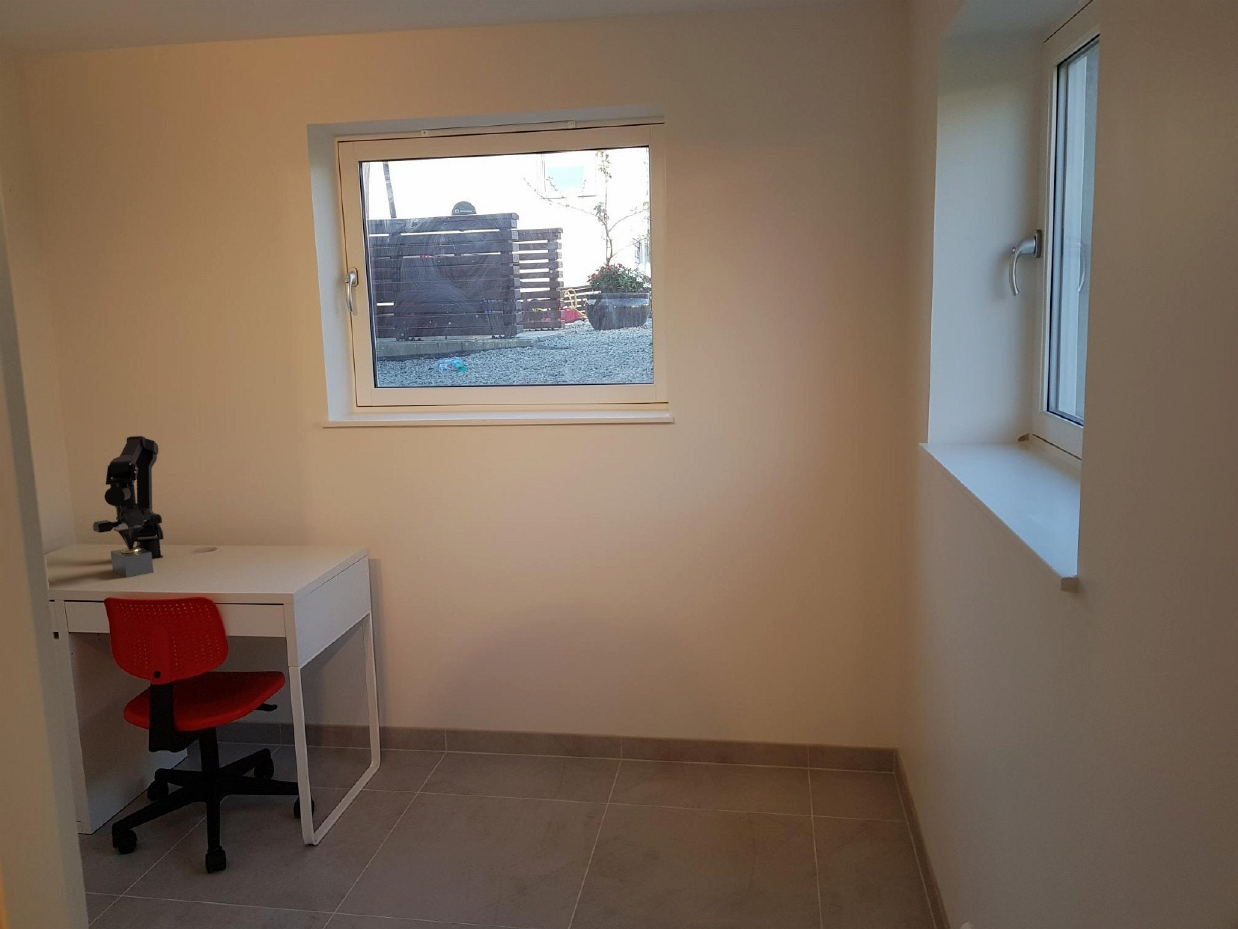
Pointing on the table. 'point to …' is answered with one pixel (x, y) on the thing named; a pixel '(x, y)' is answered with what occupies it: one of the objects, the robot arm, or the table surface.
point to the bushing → (134, 550)
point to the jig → (132, 563)
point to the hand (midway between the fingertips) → (130, 549)
